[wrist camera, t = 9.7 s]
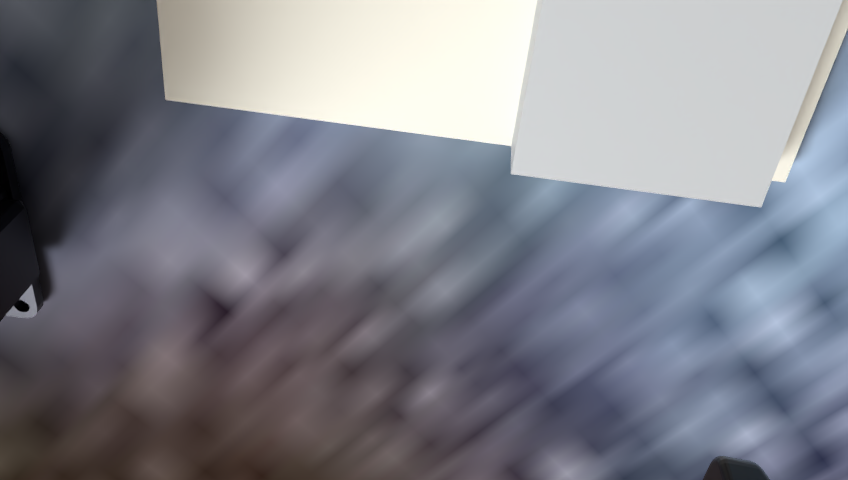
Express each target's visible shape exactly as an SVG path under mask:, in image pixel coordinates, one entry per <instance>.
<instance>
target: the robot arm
mask: <svg viewBox="0 0 848 480" xmlns="http://www.w3.org/2000/svg"><path fill="white" fill-rule="evenodd" d="M39 274H40V271H39V266H38V261H37V257H36V252H35V247H34V242H33V238H32V233H31V228H30V224H29V219H28V214H27V210H26V208H25V206H24V204H23V203H22V198H21V194H20V189H19V184H18V180H17V175H16V170H15V166H14V161H13V156H12V152H11V147H10V144H9V142H8V140H7V139H6V137H5V136H4V135H3V134H2V133H0V321H1V320H2V319H3V318H4V316H12V317H20V318H31V317H34V316H35V315H36V314H37V312H38V311H39V310H40V309H41V307H42V306H43V296H42V292H41V287H40V282H39V278H38V276H39ZM22 300H23V301H25V302H26V303H28V304H26V303H24V302H23V301H22ZM703 480H770V479H769V478H768V476H767V475H766V474H765V472H764V471H763V470H762V468H761V467H759V466H758V465H757V464H756V463H754V462H751V461H747V460H742V459H737V458H731V457H726V456H718V457H716V458H715V459H714V460H713V461H712V462H711V464H710V466H709V468H708V470H707V472H706V474H705V476H704V478H703Z"/></svg>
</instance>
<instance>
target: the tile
mask: <svg viewBox="0 0 848 480" xmlns="http://www.w3.org/2000/svg"><path fill="white" fill-rule="evenodd" d="M157 12H158V23H159V34H160V45H161V57H162V68H163V79H164V90H165V100H169V101H177V102H184V103H192V104H199V105H207V106H214V107H222V108H229V109H237V110H245V111H252V112H260V113H267V114H275V115H282V116H290V117H297V118H305V119H312V120H320V121H327V122H335V123H343V124H350V125H358V126H365V127H373V128H380V129H388V130H395V131H403V132H410V133H418V134H425V135H433V136H441V137H448V138H456V139H463V140H471V141H478V142H486V143H493V144H501V145H508V146H511V174H515V175H523V176H530V177H537V178H545V179H552V180H560V181H567V182H575V183H582V184H590V185H597V186H605V187H612V188H620V189H627V190H635V191H642V192H650V193H657V194H665V195H672V196H680V197H687V198H695V199H702V200H710V201H717V202H725V203H732V204H740V205H747V206H755V207H761V206H762V204H763V201H764V199H765V196H766V194H767V191H768V188H769V186H770V183H771V181H780V182H785V181H786V179H787V177H788V174H789V172H790V169H791V167H792V164H793V162H794V159H795V157H796V154H797V152H798V149H799V147H800V145H801V142H802V140H803V137H804V135H805V132H806V130H807V127H808V125H809V122H810V120H811V117H812V115H813V113H814V110H815V108H816V105H817V103H818V100H819V98H820V95H821V93H822V90H823V88H824V85H825V83H826V81H827V78H828V76H829V73H830V71H831V68H832V66H833V63H834V61H835V58H836V56H837V53H838V51H839V49H840V46H841V44H842V41H843V39H844V36H845V34H846V31H847V29H848V0H157Z"/></svg>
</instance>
